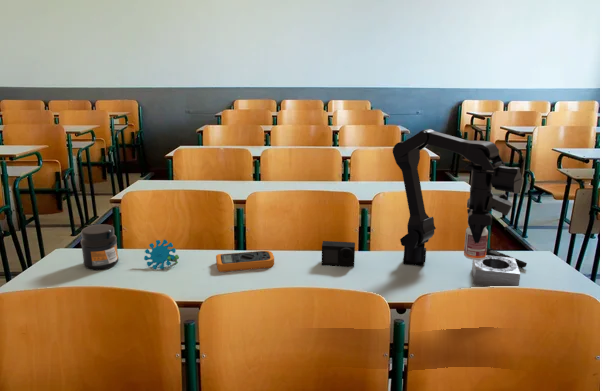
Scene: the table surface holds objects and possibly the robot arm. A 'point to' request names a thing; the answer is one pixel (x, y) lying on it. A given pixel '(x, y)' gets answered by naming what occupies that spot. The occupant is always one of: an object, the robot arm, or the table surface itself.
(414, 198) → the robot arm
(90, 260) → the supplement container
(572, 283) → the table surface
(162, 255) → the toy virus model
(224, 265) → the multimeter
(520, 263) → the electric trimmer
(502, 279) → the grey square holder
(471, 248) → the pill bottle
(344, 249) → the digital camera
